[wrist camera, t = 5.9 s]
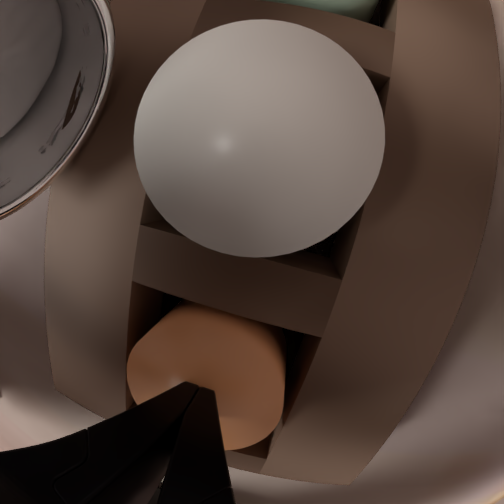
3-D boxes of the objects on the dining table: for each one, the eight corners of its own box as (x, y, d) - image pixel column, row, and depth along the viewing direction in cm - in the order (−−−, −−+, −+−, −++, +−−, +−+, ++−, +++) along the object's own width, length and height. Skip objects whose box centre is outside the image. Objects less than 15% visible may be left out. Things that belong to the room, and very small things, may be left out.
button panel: (343, 442, 10) (349, 485, 8) (86, 362, 11) (54, 389, 9) (458, -2, 6) (481, -29, 4) (190, -56, 7) (173, -88, 5)
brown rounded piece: (267, 410, 10) (258, 463, 7) (158, 376, 10) (126, 419, 8) (304, 310, 9) (307, 355, 6) (172, 273, 9) (130, 301, 7)
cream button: (328, 254, 8) (347, 287, 5) (170, 212, 8) (113, 222, 5) (366, 97, 7) (399, 53, 4) (209, 64, 7) (172, 14, 4)
